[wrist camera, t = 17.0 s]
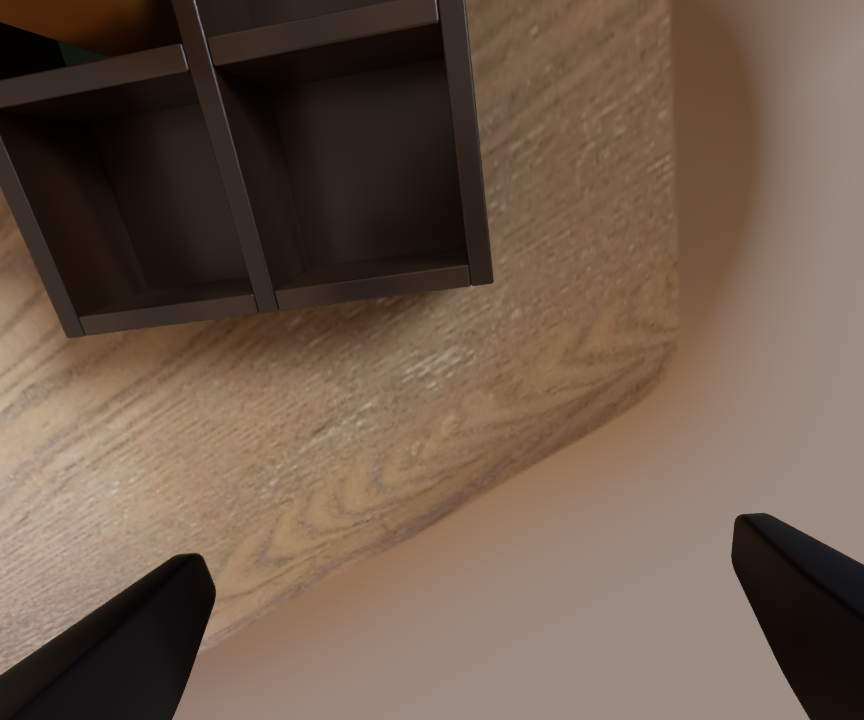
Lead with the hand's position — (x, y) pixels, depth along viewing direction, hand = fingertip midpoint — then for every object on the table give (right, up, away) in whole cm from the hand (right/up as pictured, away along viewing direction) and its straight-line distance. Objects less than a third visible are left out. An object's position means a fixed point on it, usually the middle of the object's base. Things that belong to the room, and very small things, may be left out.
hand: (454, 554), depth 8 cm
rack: (-7, +13, +9) cm, 17 cm away
